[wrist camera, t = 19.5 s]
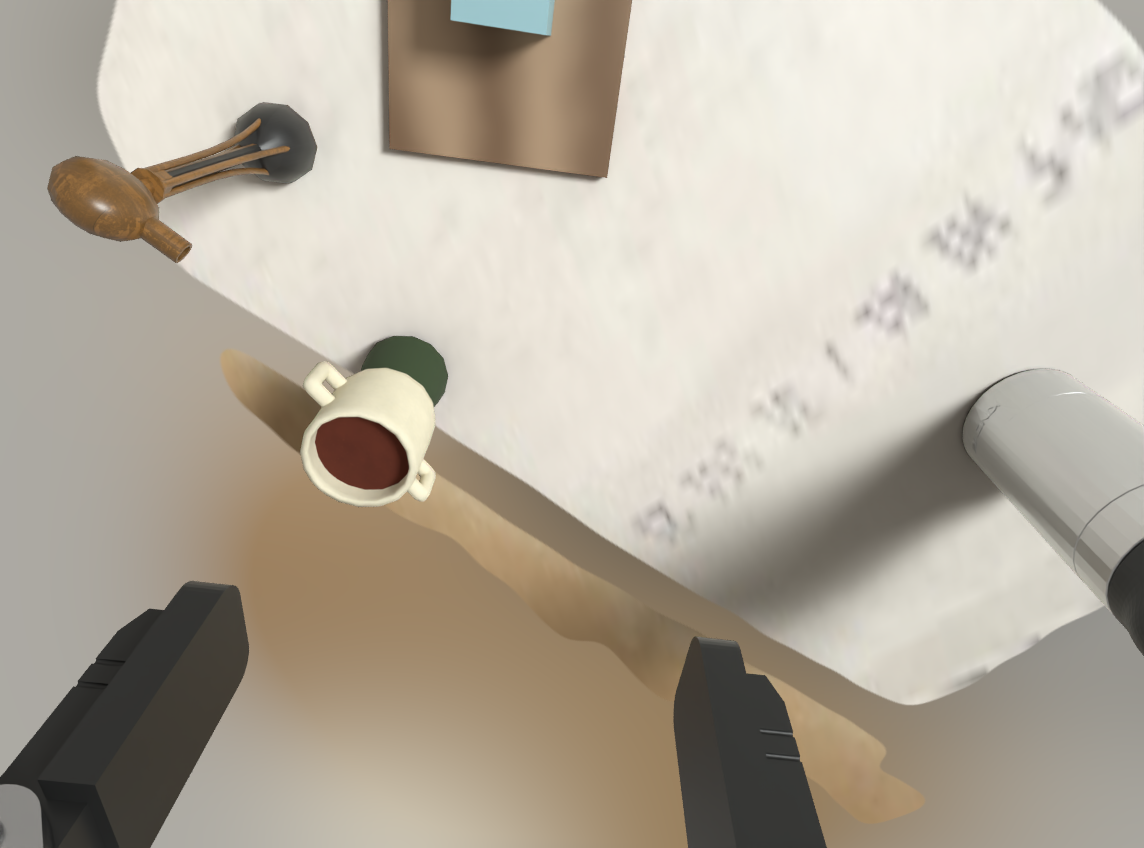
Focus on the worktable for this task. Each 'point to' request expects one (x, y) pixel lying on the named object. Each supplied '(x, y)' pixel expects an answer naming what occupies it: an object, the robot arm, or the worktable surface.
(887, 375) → the worktable surface
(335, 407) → the character mug
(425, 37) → the walnut board
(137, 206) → the wooden tabletop sculpture
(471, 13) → the teal cube
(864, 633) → the worktable surface
